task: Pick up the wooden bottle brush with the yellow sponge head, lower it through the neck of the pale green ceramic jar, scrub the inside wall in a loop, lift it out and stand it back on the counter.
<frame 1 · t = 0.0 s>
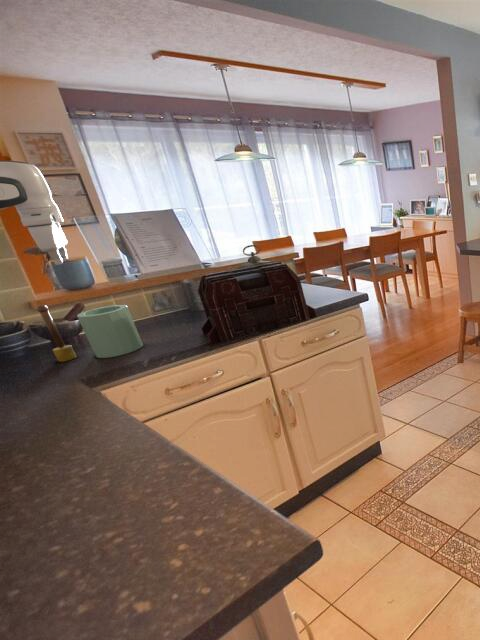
hand: (62, 262, 139), 29 cm above the worktop, tool pointing down, fingers open, 8 cm apart
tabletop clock: (266, 303, 189), on the worktop
jar: (120, 350, 145), on the worktop
crate: (262, 325, 161), on the worktop
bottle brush: (67, 358, 141), on the worktop
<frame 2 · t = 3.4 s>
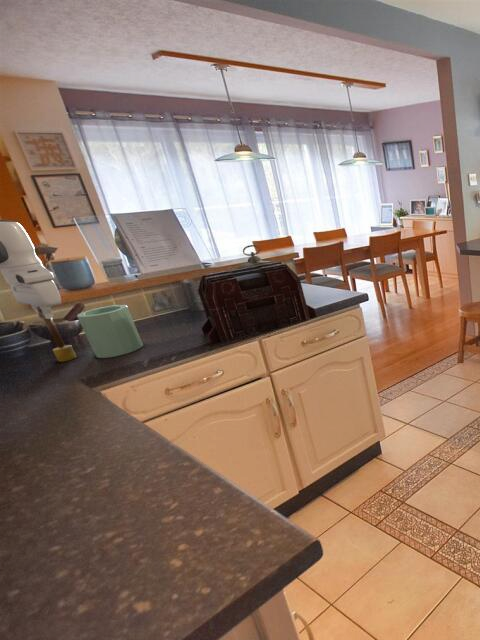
hand: (46, 317, 135), 14 cm above the worktop, tool pointing down, fingers closed on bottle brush, 2 cm apart
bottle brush: (67, 358, 141), on the worktop, touching gripper
everything else where it was.
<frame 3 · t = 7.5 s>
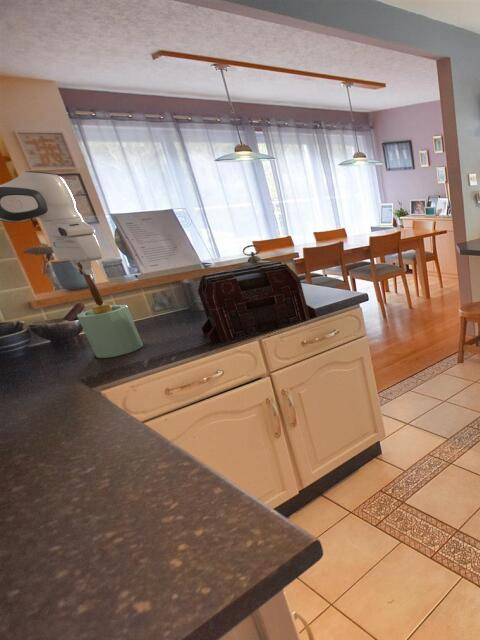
hand: (86, 274, 135), 26 cm above the worktop, tool pointing down, fingers closed on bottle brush
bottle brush: (105, 316, 141), point 12 cm above the worktop, touching gripper
everything else where it was.
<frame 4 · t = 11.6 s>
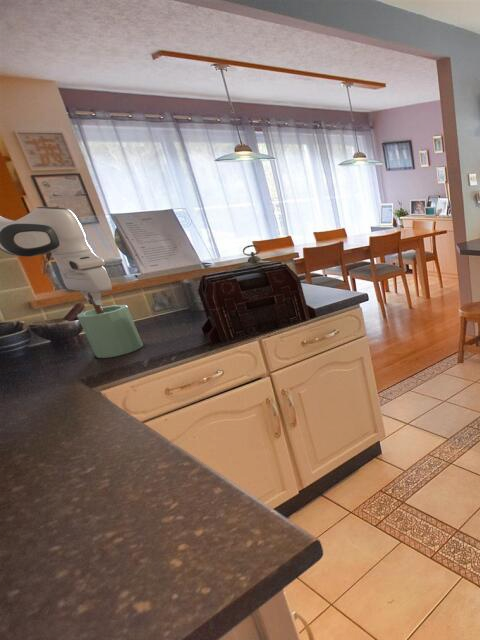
hand: (96, 304, 138), 16 cm above the worktop, tool pointing down, fingers closed on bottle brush, 2 cm apart
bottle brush: (115, 344, 144), point 2 cm above the worktop, touching gripper
everything else where it was.
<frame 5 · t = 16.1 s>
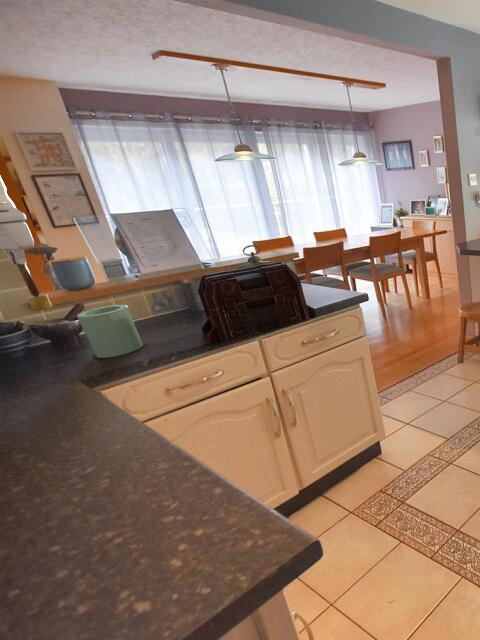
hand: (20, 263, 129), 31 cm above the worktop, tool pointing down, fingers closed on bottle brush
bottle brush: (43, 308, 134), point 17 cm above the worktop, touching gripper
everything else where it was.
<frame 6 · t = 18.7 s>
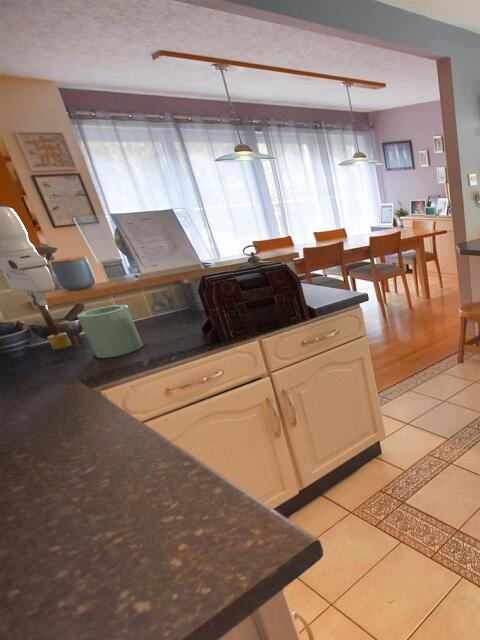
hand: (40, 304, 134), 18 cm above the worktop, tool pointing down, fingers closed on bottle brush
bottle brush: (62, 346, 139), point 4 cm above the worktop, touching gripper
everything else where it was.
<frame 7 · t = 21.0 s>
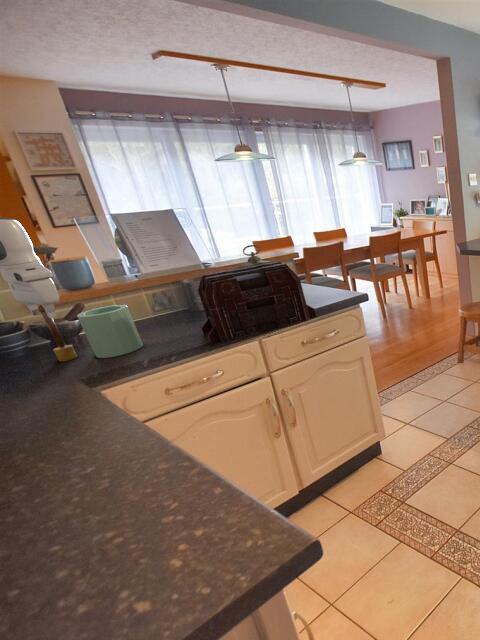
hand: (45, 316, 135), 15 cm above the worktop, tool pointing down, fingers open, 8 cm apart
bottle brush: (68, 358, 141), on the worktop
everything else where it was.
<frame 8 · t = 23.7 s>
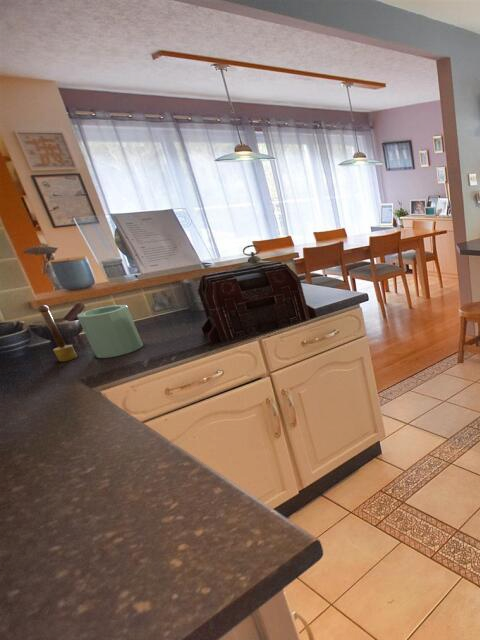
nothing on the worktop moved.
at the end: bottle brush inside the target area (0.2 cm from its centre), on the worktop; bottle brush tilted 0°; the gripper is holding nothing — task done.
